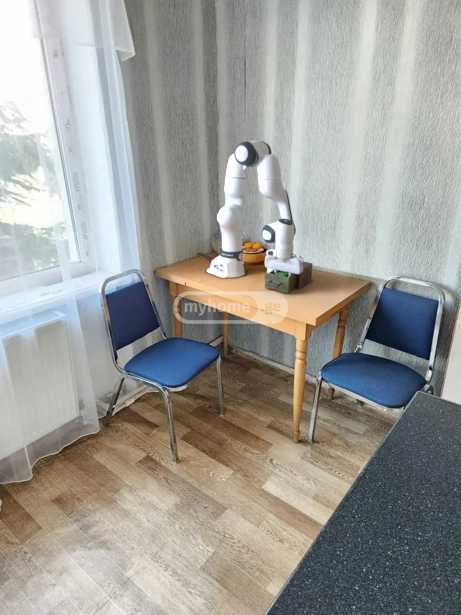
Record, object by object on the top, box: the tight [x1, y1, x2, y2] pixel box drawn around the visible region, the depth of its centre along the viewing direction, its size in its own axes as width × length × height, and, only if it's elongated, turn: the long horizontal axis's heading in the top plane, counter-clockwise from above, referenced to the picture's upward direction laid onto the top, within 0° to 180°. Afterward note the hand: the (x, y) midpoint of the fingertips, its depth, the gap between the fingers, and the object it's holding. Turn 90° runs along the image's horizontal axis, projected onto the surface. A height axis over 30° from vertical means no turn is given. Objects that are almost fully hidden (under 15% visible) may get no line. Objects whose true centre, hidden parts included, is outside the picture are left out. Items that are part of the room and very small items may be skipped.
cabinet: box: [293, 261, 313, 289], centre depth 210 cm, size 15×15×10 cm
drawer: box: [264, 270, 298, 294], centre depth 200 cm, size 18×13×8 cm
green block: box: [277, 271, 289, 277], centre depth 201 cm, size 6×4×5 cm
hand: (283, 278), depth 201 cm, fingers closed on green block, 4 cm apart
